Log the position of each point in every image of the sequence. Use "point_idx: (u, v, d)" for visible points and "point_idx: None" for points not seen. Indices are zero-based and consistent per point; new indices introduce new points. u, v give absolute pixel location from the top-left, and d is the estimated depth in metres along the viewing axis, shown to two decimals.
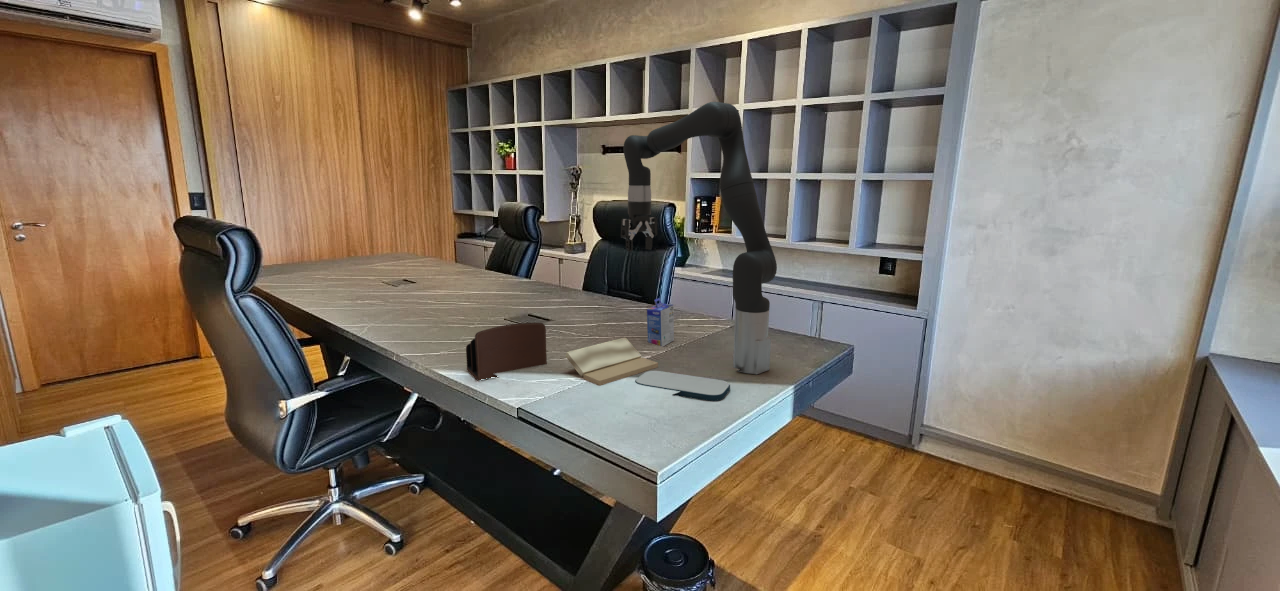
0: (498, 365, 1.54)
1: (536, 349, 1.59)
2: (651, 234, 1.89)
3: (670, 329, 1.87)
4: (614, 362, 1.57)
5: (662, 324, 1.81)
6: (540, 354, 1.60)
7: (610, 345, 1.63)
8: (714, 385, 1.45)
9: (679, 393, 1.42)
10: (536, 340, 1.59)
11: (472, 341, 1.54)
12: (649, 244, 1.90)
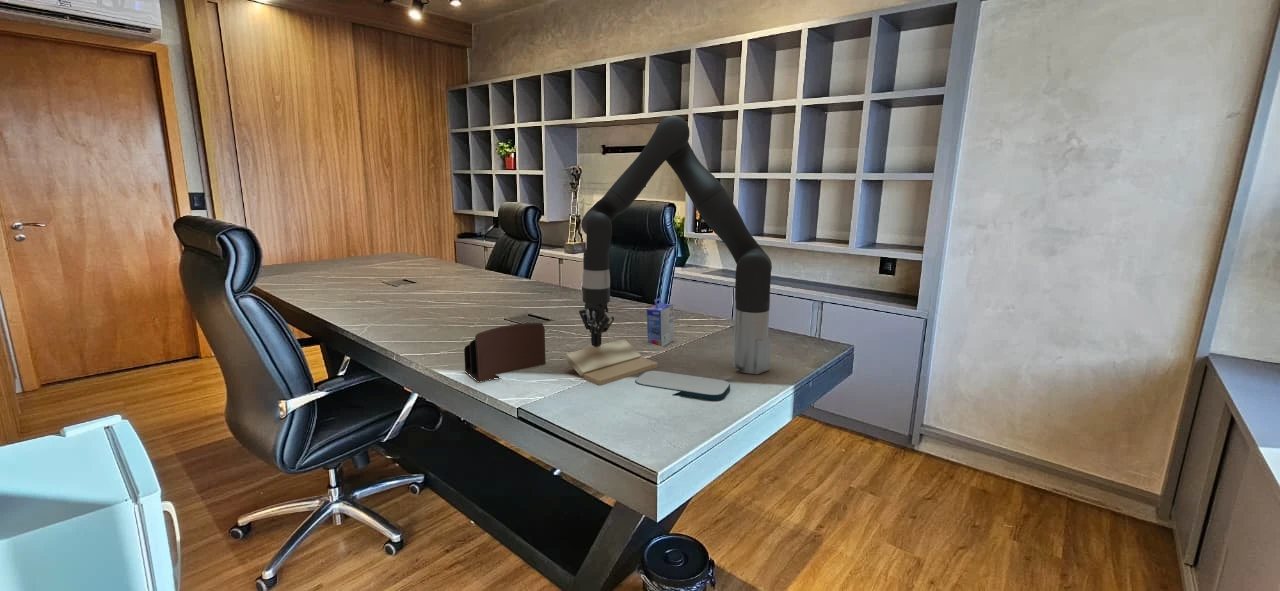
0: (498, 367, 1.53)
1: (535, 350, 1.59)
2: None
3: (670, 329, 1.87)
4: (614, 362, 1.57)
5: (662, 324, 1.81)
6: (539, 354, 1.60)
7: (609, 346, 1.63)
8: (714, 385, 1.45)
9: (679, 393, 1.42)
10: (535, 341, 1.59)
11: (471, 343, 1.52)
12: None
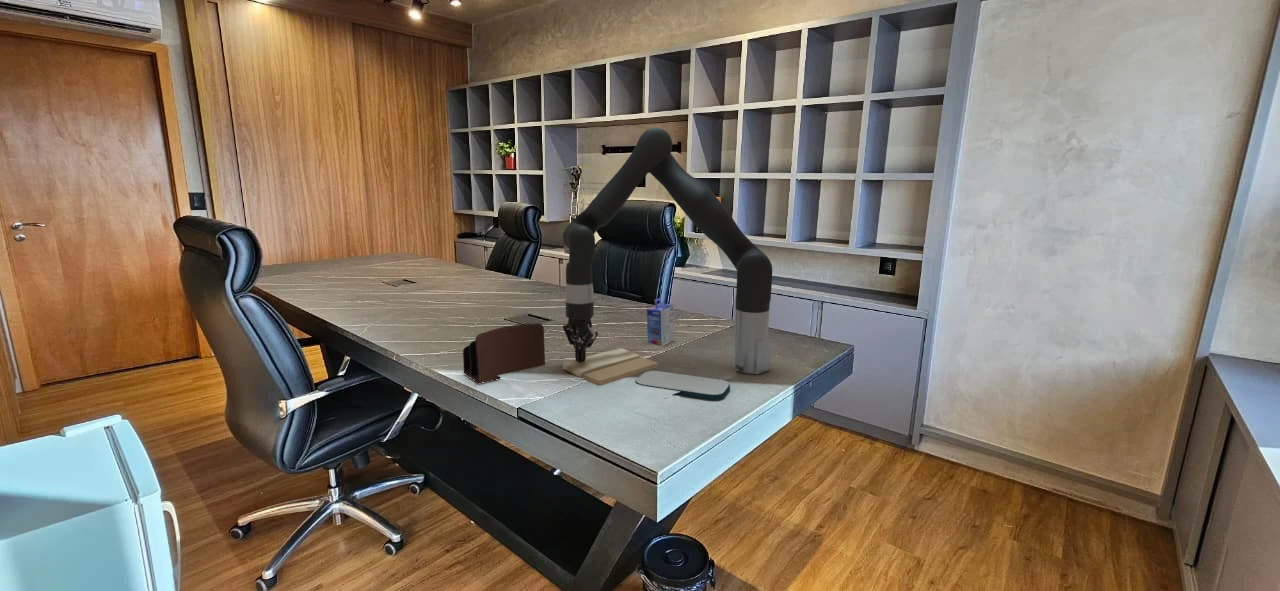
0: (498, 368, 1.52)
1: (535, 350, 1.59)
2: None
3: (670, 329, 1.87)
4: (612, 362, 1.58)
5: (662, 324, 1.81)
6: (538, 355, 1.60)
7: (606, 353, 1.64)
8: (714, 385, 1.45)
9: (680, 393, 1.42)
10: (535, 341, 1.58)
11: (471, 344, 1.51)
12: None
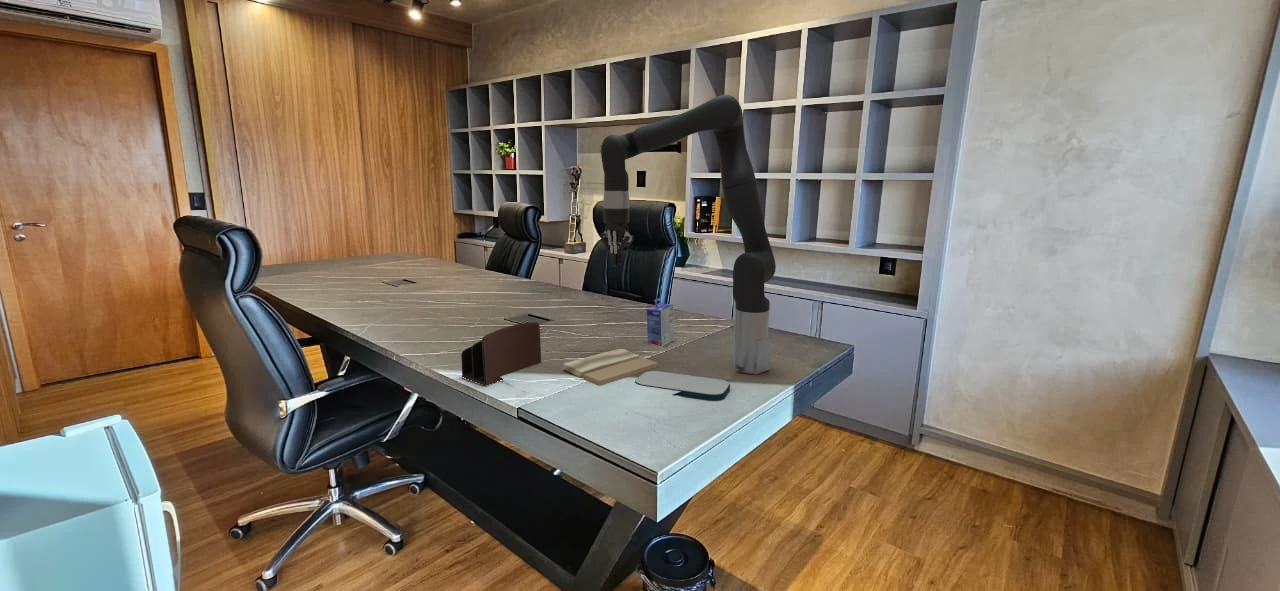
0: (502, 369, 1.52)
1: (532, 349, 1.60)
2: None
3: (670, 329, 1.87)
4: (612, 362, 1.58)
5: (661, 324, 1.81)
6: (535, 353, 1.61)
7: (606, 354, 1.64)
8: (715, 385, 1.45)
9: (680, 393, 1.42)
10: (532, 340, 1.60)
11: (473, 346, 1.49)
12: None
